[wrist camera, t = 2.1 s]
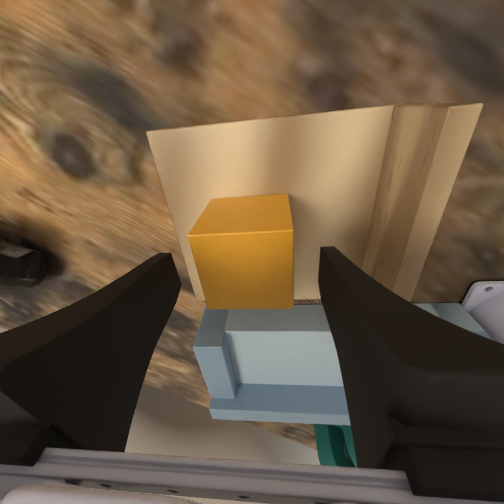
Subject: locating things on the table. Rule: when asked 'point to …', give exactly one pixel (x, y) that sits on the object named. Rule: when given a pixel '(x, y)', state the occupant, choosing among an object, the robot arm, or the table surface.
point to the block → (245, 252)
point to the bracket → (335, 445)
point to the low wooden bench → (327, 181)
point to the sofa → (282, 362)
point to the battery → (20, 267)
